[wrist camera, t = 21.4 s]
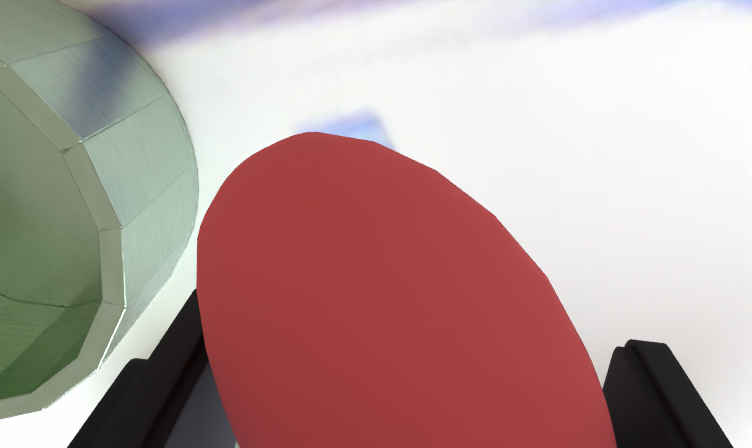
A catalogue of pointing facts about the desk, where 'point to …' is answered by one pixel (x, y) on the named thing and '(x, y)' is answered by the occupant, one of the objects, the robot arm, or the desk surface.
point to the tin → (81, 197)
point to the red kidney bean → (382, 311)
